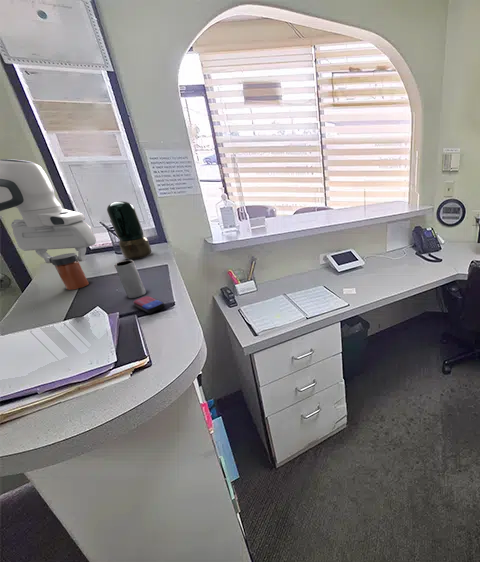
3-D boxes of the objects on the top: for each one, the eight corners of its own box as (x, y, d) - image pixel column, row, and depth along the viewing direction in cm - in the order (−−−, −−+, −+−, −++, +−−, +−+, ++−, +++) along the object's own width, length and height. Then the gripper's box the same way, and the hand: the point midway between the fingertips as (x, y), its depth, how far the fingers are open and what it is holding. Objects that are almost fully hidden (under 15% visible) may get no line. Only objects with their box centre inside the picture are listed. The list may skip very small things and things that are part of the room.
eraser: (132, 305, 86) (129, 300, 85) (148, 299, 89) (146, 294, 88) (150, 315, 80) (148, 309, 79) (167, 308, 83) (164, 302, 82)
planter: (148, 294, 93) (135, 262, 88) (130, 299, 89) (116, 267, 85) (143, 290, 95) (131, 258, 91) (126, 295, 92) (112, 263, 88)
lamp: (155, 251, 131) (136, 198, 122) (149, 258, 123) (128, 202, 114) (129, 254, 128) (108, 201, 119) (121, 262, 120) (97, 205, 111)
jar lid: (79, 257, 101) (77, 251, 100) (77, 262, 96) (74, 256, 95) (55, 261, 98) (52, 256, 97) (51, 267, 93) (48, 261, 92)
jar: (67, 291, 97) (52, 263, 93) (65, 286, 100) (51, 259, 96) (90, 285, 101) (77, 257, 97) (87, 281, 104) (74, 254, 100)
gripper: (-3, 222, 87) (22, 267, 93) (72, 218, 88) (92, 263, 94) (19, 217, 93) (41, 260, 99) (89, 213, 94) (107, 256, 100)
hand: (67, 261), depth 96 cm, fingers open, 8 cm apart
